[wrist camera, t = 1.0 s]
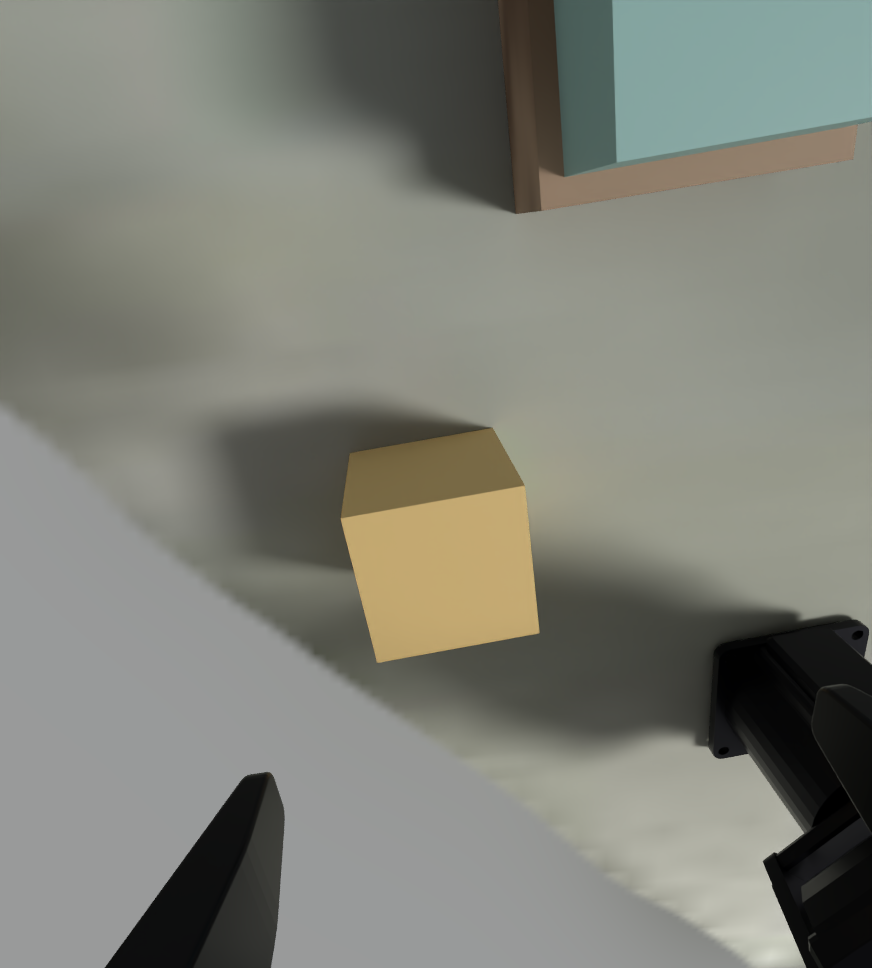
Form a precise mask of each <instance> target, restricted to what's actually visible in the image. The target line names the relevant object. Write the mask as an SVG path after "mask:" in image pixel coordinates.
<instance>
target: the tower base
mask: <svg viewBox="0 0 872 968" xmlns="http://www.w3.org/2000/svg"><path fill="white" fill-rule="evenodd" d="M498 7H499V19H500V31H501V43H502V55H503V67H504V79H505V91H506V103H507V115H508V127H509V139H510V151H511V163H512V175H513V186H514V198H515V210H516V214H519V213H527V212H535V211H543V210H549V209H555V208H561V207H567V206H574V205H580V204H586V203H592V202H598V201H604V200H610V199H616V198H622V197H628V196H634V195H640V194H646V193H652V192H658V191H664V190H670V189H676V188H682V187H689V186H695V185H701V184H707V183H713V182H719V181H725V180H731V179H737V178H743V177H749V176H755V175H761V174H767V173H773V172H779V171H785V170H791V169H797V168H804V167H810V166H816V165H822V164H828V163H834V162H840V161H846V160H852V159H853V156H854V149H855V141H856V134H857V126H858V124H857V125H852V126H848V127H843V128H838V129H832V130H827V131H821V132H815V133H810V134H804V135H798V136H793V137H787V138H782V139H776V140H770V141H765V142H759V143H754V144H748V145H742V146H737V147H731V148H726V149H720V150H714V151H709V152H703V153H698V154H692V155H686V156H681V157H675V158H669V159H664V160H658V161H653V162H647V163H641V164H636V165H630V166H625V167H619V168H613V169H608V170H602V171H597V172H591V173H585V174H580V175H574V176H569V177H564V163H563V146H562V130H561V113H560V97H559V80H558V64H557V47H556V31H555V14H554V0H498Z"/></svg>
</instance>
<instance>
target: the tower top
mask: <svg viewBox="0 0 872 968" xmlns="http://www.w3.org/2000/svg"><path fill="white" fill-rule="evenodd" d="M554 14H555V31H556V47H557V64H558V80H559V97H560V113H561V130H562V146H563V163H564V177H569V176H574V175H580V174H585V173H591V172H597V171H602V170H608V169H613V168H619V167H625V166H630V165H636V164H641V163H647V162H653V161H658V160H664V159H669V158H675V157H681V156H686V155H692V154H698V153H703V152H709V151H714V150H720V149H726V148H731V147H737V146H742V145H748V144H754V143H759V142H765V141H770V140H776V139H782V138H787V137H793V136H798V135H804V134H810V133H815V132H821V131H827V130H832V129H838V128H843V127H848V126H852V125H857V124H862V123H866V122H871V121H872V0H554Z"/></svg>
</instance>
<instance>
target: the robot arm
mask: <svg viewBox="0 0 872 968" xmlns="http://www.w3.org/2000/svg"><path fill="white" fill-rule="evenodd" d="M868 636H869V629H868V628H867V627H866V626H865V625H864V624H863V623H861V622H860V621H858V620H849V621H843V622H838V623H832V624H827V625H821V626H816V627H810V628H805V629H800V630H794V631H789V632H783V633H778V634H772V635H767V636H761V637H756V638H750V639H745V640H739V641H734V642H728V643H724V644H722V645H720V646H719V647H717V649H716V650H715V652H714V662H713V680H712V697H711V714H710V731H709V749H710V750H711V752H712V754H713V755H714V756H715V757H716V758H719V759H722V758H728V757H734V756H739V755H744V754H749V755H750V756H751V758H752V759H753V761H754V762H755V763H756V765H757V766H758V768H759V769H760V771H761V772H762V773H763V775H764V776H765V778H766V779H767V781H768V782H769V783H770V785H771V786H772V788H773V789H774V791H775V792H776V793H777V795H778V796H779V798H780V799H781V801H782V802H783V803H784V805H785V806H786V808H787V809H788V811H789V812H790V813H791V815H792V816H793V818H794V819H795V820H796V822H797V823H798V825H799V826H800V828H801V829H802V830H803V832H804V834H803V835H802V836H800V837H799V838H798V839H796V840H795V841H794V842H792V843H791V844H790V845H788V846H787V847H786V848H784V849H783V850H782V851H780V852H779V853H778V854H777V853H773V854H771V855H770V856H769V857H767V858H766V859H765V860H763V863H764V866H765V868H766V870H767V873H768V875H769V878H770V880H771V882H772V888H773V890H774V892H775V895H776V897H777V900H778V902H779V904H780V907H781V909H782V911H783V914H784V916H785V918H786V921H787V923H788V925H789V928H790V930H791V932H792V935H793V937H794V939H795V942H796V944H797V946H798V949H799V951H800V954H801V956H802V958H803V961H804V963H805V965H806V968H872V664H871V663H870V662H868V661H867V660H866V659H865V658H864V656H865V651H866V646H867V641H868ZM727 655H728V656H727ZM284 820H285V819H284V807H283V804H282V801H281V797H280V795H279V791H278V788H277V786H276V782H275V779H274V777H273V775H272V774H271V773H270V772H264V773H257V774H251V775H247V776H245V777H244V778H243V779H242V780H241V782H240V783H239V785H238V786H237V787H236V788H235V790H234V791H233V792H232V794H231V795H230V797H229V798H228V799H227V801H226V802H225V804H224V805H223V806H222V808H221V809H220V810H219V812H218V813H217V814H216V816H215V817H214V819H213V820H212V821H211V823H210V824H209V825H208V827H207V828H206V830H205V831H204V832H203V834H202V835H201V836H200V838H199V839H198V841H197V842H196V843H195V845H194V846H193V847H192V849H191V850H190V852H189V853H188V854H187V856H186V857H185V859H184V860H183V861H182V862H181V864H180V865H179V867H178V868H177V869H176V871H175V872H174V873H173V875H172V876H171V878H170V879H169V880H168V882H167V883H166V884H165V886H164V887H163V889H162V890H161V891H160V893H159V894H158V895H157V897H156V898H155V900H154V901H153V902H152V904H151V905H150V907H149V908H148V909H147V911H146V912H145V913H144V915H143V916H142V917H141V919H140V920H139V922H138V923H137V924H136V926H135V927H134V928H133V930H132V931H131V933H130V934H129V935H128V937H127V938H126V940H125V941H124V942H123V944H122V945H121V946H120V948H119V949H118V950H117V952H116V953H115V954H114V956H113V957H112V959H111V960H110V961H109V963H108V964H107V965H106V967H105V968H271V962H272V957H273V951H274V945H275V938H276V931H277V921H278V909H279V895H280V878H281V865H282V850H283V836H284Z"/></svg>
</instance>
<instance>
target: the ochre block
mask: <svg viewBox="0 0 872 968" xmlns="http://www.w3.org/2000/svg"><path fill="white" fill-rule="evenodd" d="M341 522H342V526H343V530H344V534H345V538H346V542H347V546H348V550H349V554H350V558H351V561H352V565H353V569H354V573H355V577H356V581H357V585H358V589H359V593H360V597H361V601H362V605H363V609H364V613H365V617H366V621H367V625H368V628H369V632H370V636H371V640H372V644H373V648H374V652H375V656H376V660H377V663H380V662H385V661H390V660H396V659H401V658H407V657H412V656H418V655H423V654H429V653H434V652H440V651H445V650H451V649H456V648H462V647H467V646H473V645H478V644H484V643H489V642H495V641H500V640H505V639H511V638H516V637H522V636H527V635H533V634H538V633H539V623H538V613H537V603H536V593H535V583H534V573H533V563H532V553H531V543H530V533H529V523H528V513H527V503H526V493H525V485H524V483H523V481H522V480H521V478H520V476H519V474H518V473H517V471H516V469H515V467H514V465H513V464H512V462H511V460H510V458H509V456H508V455H507V453H506V451H505V449H504V447H503V446H502V444H501V442H500V440H499V439H498V437H497V435H496V433H495V431H494V430H493V428H489V429H483V430H477V431H472V432H466V433H460V434H455V435H449V436H443V437H438V438H432V439H426V440H421V441H415V442H409V443H404V444H398V445H392V446H387V447H381V448H375V449H370V450H364V451H358V452H353V453H350V455H349V462H348V470H347V477H346V484H345V491H344V498H343V505H342V512H341Z"/></svg>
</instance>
